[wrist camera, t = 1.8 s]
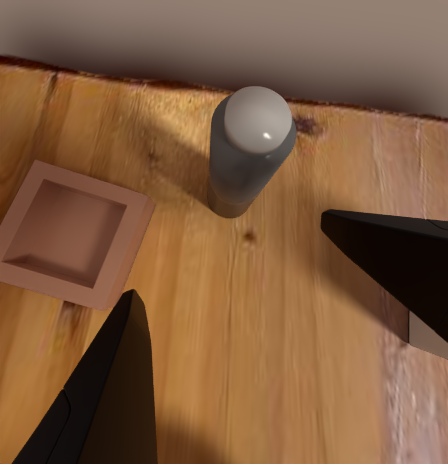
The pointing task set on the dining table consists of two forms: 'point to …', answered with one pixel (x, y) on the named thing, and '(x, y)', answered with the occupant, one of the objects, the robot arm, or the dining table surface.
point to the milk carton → (426, 338)
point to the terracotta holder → (72, 236)
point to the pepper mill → (247, 147)
